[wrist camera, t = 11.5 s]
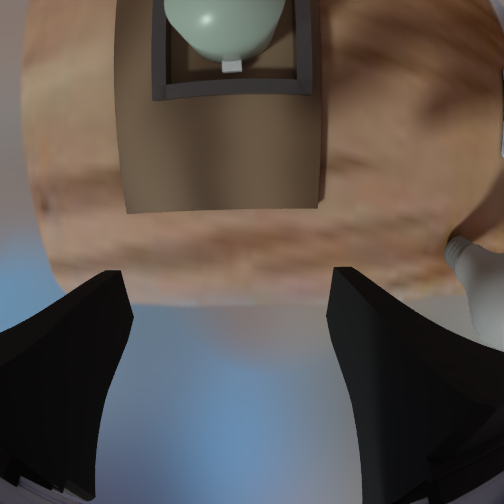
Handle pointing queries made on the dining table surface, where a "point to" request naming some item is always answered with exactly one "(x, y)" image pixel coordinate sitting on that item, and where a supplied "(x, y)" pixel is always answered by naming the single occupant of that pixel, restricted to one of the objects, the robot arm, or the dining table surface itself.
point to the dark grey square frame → (169, 91)
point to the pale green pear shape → (226, 28)
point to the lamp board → (214, 125)
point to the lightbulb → (480, 286)
